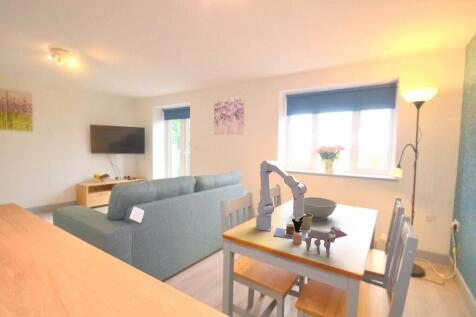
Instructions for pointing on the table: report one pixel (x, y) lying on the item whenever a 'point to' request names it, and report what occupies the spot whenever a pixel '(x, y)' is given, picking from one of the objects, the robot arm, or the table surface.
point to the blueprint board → (282, 233)
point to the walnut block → (290, 229)
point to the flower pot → (306, 221)
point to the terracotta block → (297, 238)
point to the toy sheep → (323, 238)
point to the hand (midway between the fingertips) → (297, 229)
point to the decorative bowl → (319, 207)
